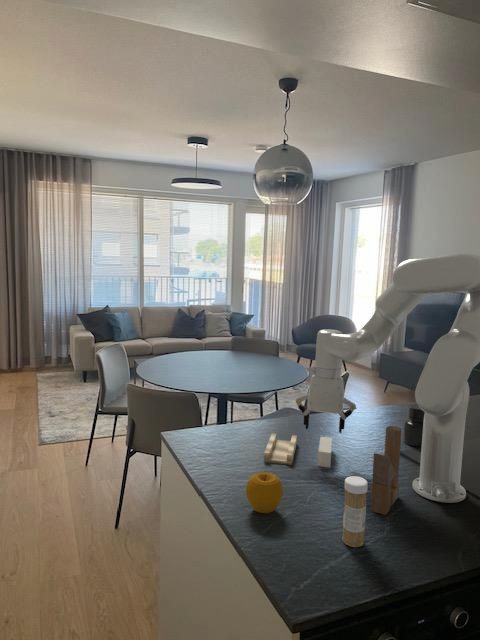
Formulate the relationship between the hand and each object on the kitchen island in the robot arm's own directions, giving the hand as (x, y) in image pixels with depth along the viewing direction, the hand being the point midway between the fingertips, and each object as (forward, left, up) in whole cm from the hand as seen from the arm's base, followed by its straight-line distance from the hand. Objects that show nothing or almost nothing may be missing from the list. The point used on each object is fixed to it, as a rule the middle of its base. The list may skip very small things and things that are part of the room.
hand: (323, 429), depth 142 cm
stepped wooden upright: (-24, -16, -9) cm, 30 cm away
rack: (+1, +12, -9) cm, 15 cm away
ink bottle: (+20, -30, -9) cm, 37 cm away
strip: (0, -1, -9) cm, 9 cm away
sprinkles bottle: (-42, -8, -9) cm, 44 cm away
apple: (-34, +12, -9) cm, 38 cm away
